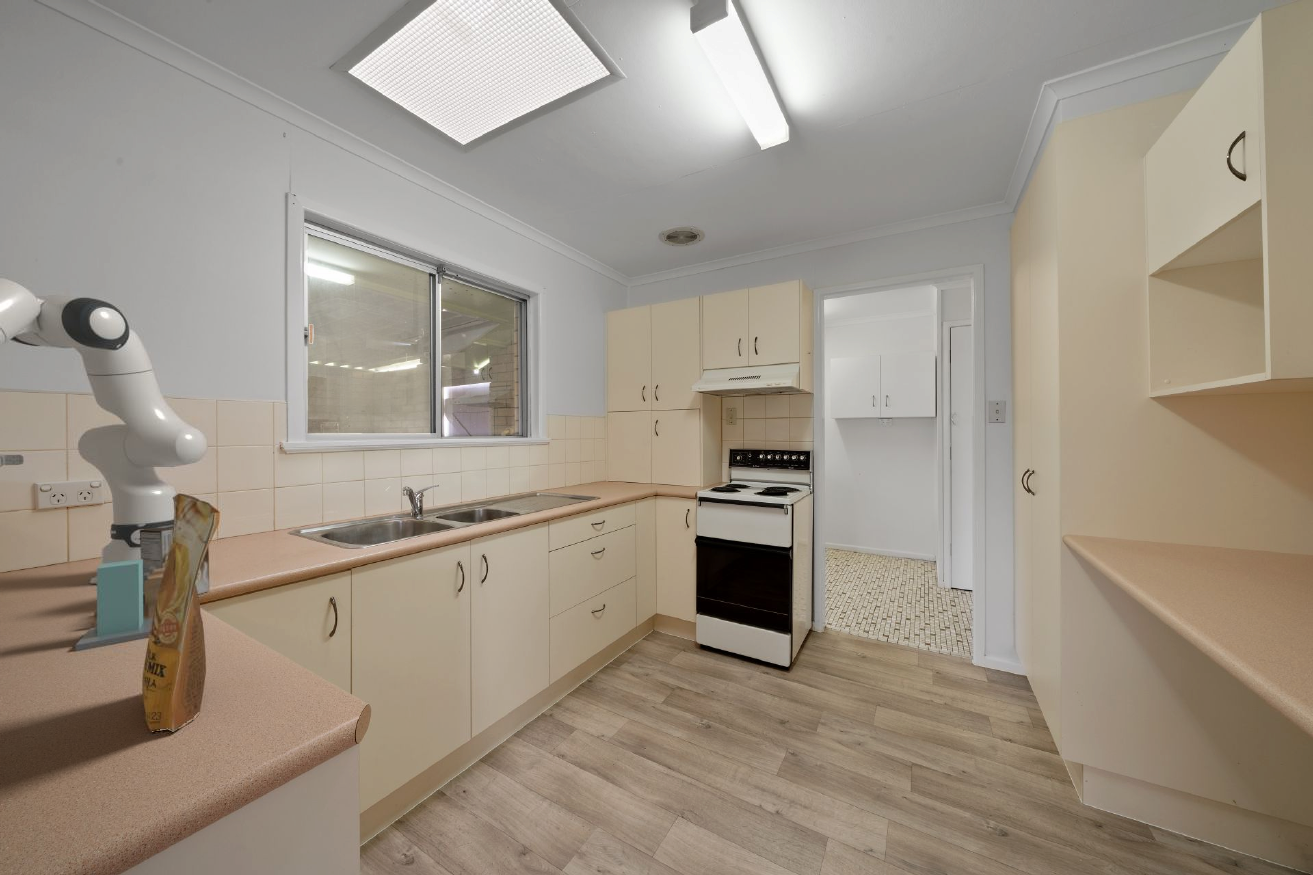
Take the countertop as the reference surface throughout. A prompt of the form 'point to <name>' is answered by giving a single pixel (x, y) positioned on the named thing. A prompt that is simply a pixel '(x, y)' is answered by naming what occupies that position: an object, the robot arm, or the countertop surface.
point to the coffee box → (157, 550)
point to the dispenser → (149, 591)
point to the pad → (113, 636)
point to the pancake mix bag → (179, 622)
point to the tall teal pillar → (119, 597)
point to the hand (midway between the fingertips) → (12, 460)
